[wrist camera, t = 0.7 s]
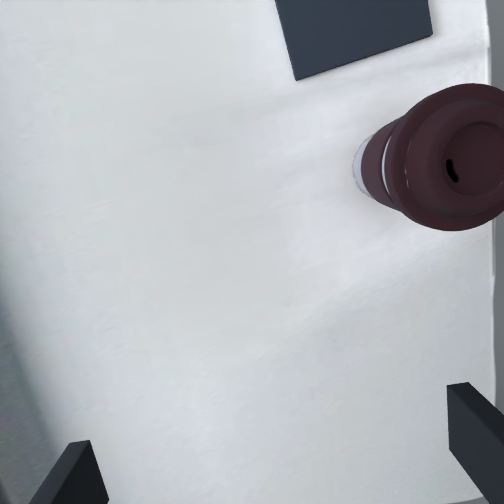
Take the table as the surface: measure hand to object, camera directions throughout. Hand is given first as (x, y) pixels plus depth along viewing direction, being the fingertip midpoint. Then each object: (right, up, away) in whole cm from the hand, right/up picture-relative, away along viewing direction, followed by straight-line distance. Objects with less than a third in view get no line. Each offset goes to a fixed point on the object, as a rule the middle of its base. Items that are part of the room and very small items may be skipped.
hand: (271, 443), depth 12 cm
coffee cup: (+14, +16, +24) cm, 32 cm away
